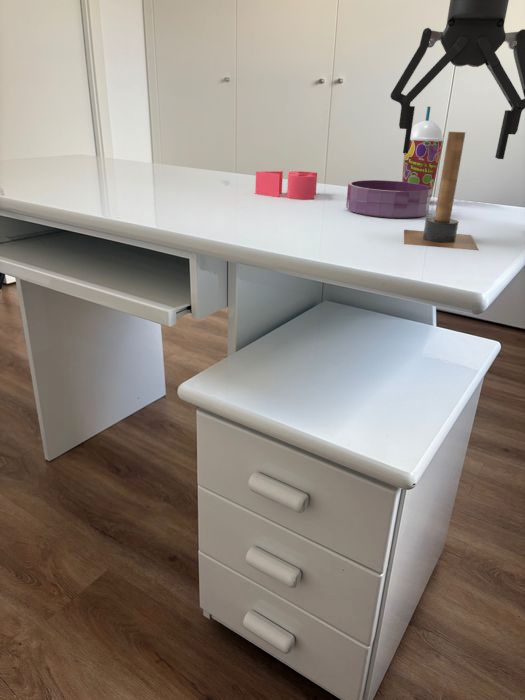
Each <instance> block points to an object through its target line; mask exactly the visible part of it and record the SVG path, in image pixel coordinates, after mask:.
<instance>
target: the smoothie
mask: <svg viewBox="0 0 525 700" xmlns="http://www.w3.org/2000/svg"><path fill="white" fill-rule="evenodd" d="M430 112H431V106H427V107H426V115H425V119H424V120H420V121H418V122H417V123H415V124H414V125H412V130H411V137H410V144H409V151H408V153H403V163H402V179H401V181H402V182H411V183H418V184H423V185H427V186H430V187H432V194H431V197H432V195H433V191H434V186H435V182H436V178H437V173H438V169H439V164H440V159H441V155H442V151H443V150H442V149H443V147H444V141H445V138H444V135H443V132H442V129H441V127H440V126H439V125H438V123H436V122H434V121H432V120H430Z"/></svg>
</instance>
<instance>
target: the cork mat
mask: <svg viewBox="0 0 525 700" xmlns="http://www.w3.org/2000/svg"><path fill="white" fill-rule="evenodd" d="M423 234H424V230H413V229H403V245H409V246H410V245H411V246H421V247H432V248H434V247H435V248H443V249H445V248H446V249H456V250H457V249H458V250H466V251H467V250H470V251H480V250H479V248H478V246H477V244H476V242H475V239H474V238H473V236H472V234H465V233H457V234H456V239H455V241H454V242H451V243H440V242H432V241H428V240H425V239H424V238H423Z"/></svg>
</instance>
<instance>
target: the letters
mask: <svg viewBox="0 0 525 700" xmlns="http://www.w3.org/2000/svg"><path fill="white" fill-rule="evenodd" d="M283 173H284V171H283V170H276V171H275V170H269V171H266V170H265V171H263V170H262V171H255V191H254V192H255V193H254V194H256V195H261V194H262V195H263V196H268V195H269V197H274V198H275V197H276V198H279V197H280V194H282V193H283V177H284V176H283V175H284V174H283ZM317 182H318V172H316V171H302V170H301V171H300V170H299V171H297V170H295V171H288V174H287V189H286V198H287V199H292V200H315V195H317V194H316V193H317Z"/></svg>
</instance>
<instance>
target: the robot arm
mask: <svg viewBox="0 0 525 700" xmlns="http://www.w3.org/2000/svg"><path fill="white" fill-rule="evenodd" d="M509 2H510V0H449V7H448V13H447V19H446V24H445V28H444V30H443V31H438V30H432V29H431V28H430V27H426V28H424V29H423V30H422V33H421V38H420V42H419V46H418V47H417V49H416V51H415V53H414V54H413V56H412V57H411V59H410V61H409V63H407V66H406V68H405V69H404V71H403V72H402V75H400V78H399V79H398V81H397V82H396V84H395V86H394V88H393V89H392V91H391V93H390V99H391V100H392V101H395V102H396V103H399V104H400V115H399V123H398V127H399V129H400V130H405V135H404V142H403V150H402V153H403V154H404V153H408V151H409V144H410V137H411V130H412V127H413V124H414V116H415V108H416V107H415V105H411V103H412V102H413V101H414V100H415V99H416V98H417V97H418V96H419V95H420V94H421V93H422V92H423V90H425V88H427V86H428V85H430V84H431V82H432V81H433V80H435V78H436V77H437V76H438V75H439V74H440V73H441V72H442V71H443V70H444V69H445V68H446V66H447V65H449V63H451V64H452V65H453V66H455V67H464V66H469V67H472V68H479V67H482V66H483V65H485V66H486V68H487V70H488V71H489V72H490V73H491V75H492V76H493V78H494V80H495V82H496V84H497V85H498V87H499V89H500V91H501V92H502V94H503V96H504V98H505V99H506V101H507V103H508V104H509V106H510V108H511V109H510V110H509V109H508V110H507V109H506V110H504V113H503V118H502V123H501V128H500V133H499V138H498V142H497V146H496V147H497V148H496V152H495V155H494V157H495V159H497V160H504V159H505V154H506V149H507V145H508V139H509V135H514V136H515V135H516V134H517V132H518V130H519V126H520V120H521V116H522V113H523V111H524V110H525V28H522V29H520V30H518V31H510V32H506V31H505V22H506V16H507V12H508V6H509ZM437 42H440V43H441V45H442V48H443V50H444V52H445V53H444V54H443V56H441V58H440V59H439V60H438V61H437V62H436V63H435V64H434V65H433V66H432V67H431V68H430V69H429V70H428V71H427V72H426V73H425V75H424V76H423V77H421V79H420V80H419V81H418V82H417V83H416V84H415V85H414V86H413V87H412V89H410V91H408V93H406V94H403V91H404V89H405V88H406V86H407V84H408V83H409V81H410V79H411V78H412V76H413V74H415V72H416V69H417V68H418V66H420V63H421V61H422V60H423V58H424V57H425V55H426V53H427V50H428V49H431V48H433V47H434V46H435V45H436V43H437ZM504 43H506V44H507V46H508V47H507V48H508V49H509V50H511V51H512V53H513V58H514V63H515V67H516V70H517V74H518V77H519V82H520V87H521V90H522V93H523V97H524V98H521V96H520V94H519V93H518V91H517V89H516V87H515V86H514V84H513V83H512V81H511V79H510V77H509V76H508V73H507V72H506V70H505V69H504V67H503V65H502V63H501V61H500V59H499V57H498V55H497V54H496V52H497V51H498V50H499V49H500V47H501V46H502V45H503V44H504Z"/></svg>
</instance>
